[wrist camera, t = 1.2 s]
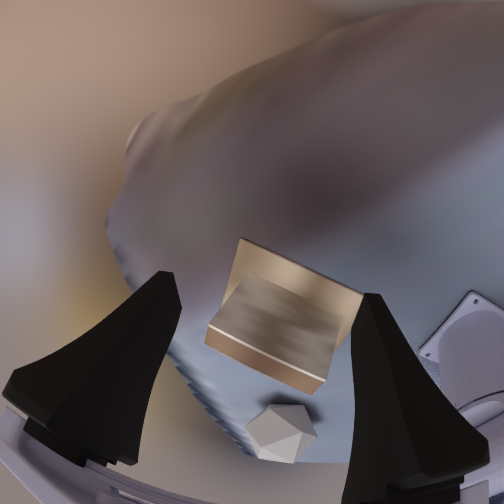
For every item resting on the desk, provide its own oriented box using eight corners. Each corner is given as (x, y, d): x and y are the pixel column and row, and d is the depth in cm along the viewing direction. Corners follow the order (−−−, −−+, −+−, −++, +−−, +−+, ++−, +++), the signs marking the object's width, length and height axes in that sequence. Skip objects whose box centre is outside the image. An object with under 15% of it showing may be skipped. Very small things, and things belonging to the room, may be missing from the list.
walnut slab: (342, 315, 23) (326, 379, 18) (329, 333, 25) (311, 395, 19) (248, 271, 25) (208, 323, 19) (241, 291, 26) (204, 343, 21)
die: (273, 418, 38) (293, 471, 30) (228, 414, 34) (245, 476, 26) (310, 390, 36) (337, 446, 28) (266, 383, 32) (292, 452, 24)
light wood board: (373, 299, 21) (372, 300, 21) (300, 389, 31) (300, 390, 30) (241, 237, 24) (240, 238, 23) (211, 345, 33) (210, 346, 33)
